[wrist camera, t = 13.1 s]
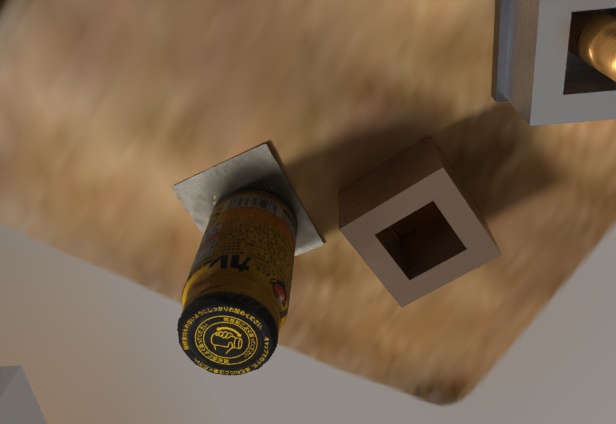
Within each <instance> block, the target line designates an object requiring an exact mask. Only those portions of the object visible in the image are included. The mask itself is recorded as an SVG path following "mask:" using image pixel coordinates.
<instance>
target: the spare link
mask: <svg viewBox="0 0 616 424" xmlns="http://www.w3.org/2000/svg"><path fill="white" fill-rule="evenodd" d="M338 199H339V230H340V231H341V232H342V233H343V235H344V236H345V237H346V239H347V240H348V241H349V242H350V244H351V245H352V246H353V247H354V249H355V250H356V251H357V252H358V254H359V255H360V256H361V257H362V259H363V260H364V261H365V262H366V264H367V265H368V266H369V267H370V269H371V270H372V271H373V272H374V274H375V275H376V276H377V277H378V279H379V280H380V281H381V282H382V284H383V285H384V286H385V287H386V289H387V290H388V291H389V292H390V294H391V295H392V296H393V297H394V299H395V300H396V301H397V302H398V304H399V305H400V306H401V307H404V306H406V305H407V304H409V303H411V302H413V301H415V300H417V299H419V298H421V297H423V296H424V295H426V294H428V293H430V292H432V291H434V290H436V289H438V288H440V287H441V286H443V285H445V284H447V283H449V282H451V281H453V280H455V279H457V278H458V277H460V276H462V275H464V274H466V273H468V272H470V271H472V270H474V269H475V268H477V267H479V266H481V265H483V264H485V263H487V262H489V261H490V260H492V259H494V258H496V257H498V256H500V255H502V254H501V252H500V250H499V248H498V246H497V244H496V242H495V240H494V238H493V236H492V233H491V231H490V229H489V227H488V225H487V223H486V221H485V219H484V217H483V215H482V213H481V212H480V210H479V209H478V207H477V206H476V204H475V203H474V201H473V200H472V198H471V196H470V195H469V193H468V192H467V190H466V189H465V187H464V186H463V184H462V183H461V181H460V180H459V178H458V177H457V175H456V174H455V172H454V171H453V169H452V168H451V166H450V165H449V163H448V162H447V160H446V159H445V157H444V156H443V154H442V153H441V151H440V150H439V148H438V147H437V145H436V144H435V142H434V141H433V139H432V138H431V136H430V135H429V136H427V137H426V138H424V139H422V140H421V141H419V142H418V143H416V144H414V145H413V146H411V147H410V148H408V149H406V150H405V151H403V152H402V153H400V154H398V155H397V156H395V157H394V158H392V159H390V160H389V161H387V162H386V163H384V164H382V165H381V166H379V167H377V168H376V169H374V170H373V171H371V172H369V173H368V174H366V175H365V176H363V177H361V178H360V179H358V180H357V181H355V182H353V183H352V184H350V185H349V186H347V187H345V188H344V189H342V190H341V191H339V192H338ZM432 201H434V203H435V204H436V205H437V207H438V208H439V210H440V211H441V213H442V214H443V215H442V216H440V217H439V218H437V219H435V220H433V221H432V222H430V223H428V224H426V225H425V226H423V227H421V228H419V229H418V230H416V231H414V232H412V233H411V234H409V235H407V236H405V237H404V238H402V239H401V238H400V237H399V236H398V234H397V233H396V232H395V230H394V229H393V228H392V226H391V225H392V224H394V223H396V222H397V221H399V220H401V219H402V218H404V217H406V216H408V215H409V214H411V213H413V212H414V211H416V210H418V209H420V208H421V207H423V206H425V205H426V204H428V203H430V202H432Z"/></svg>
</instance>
